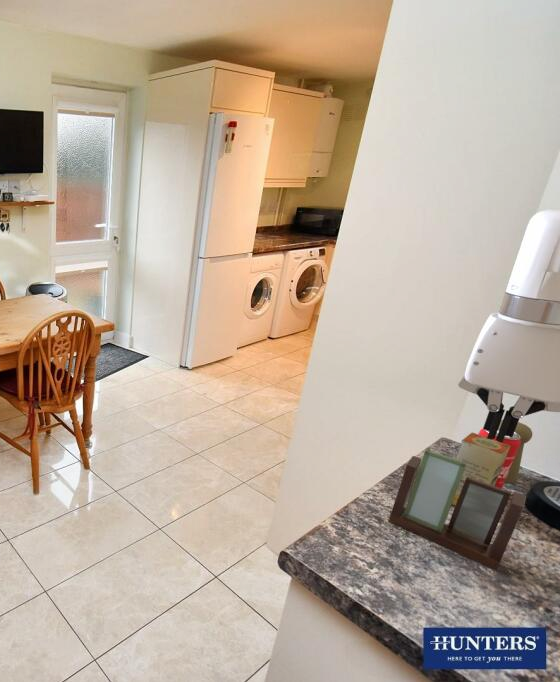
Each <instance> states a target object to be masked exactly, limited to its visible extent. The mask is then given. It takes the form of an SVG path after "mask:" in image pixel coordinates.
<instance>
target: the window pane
mask: <svg viewBox="0 0 560 682" xmlns="http://www.w3.org/2000/svg"><path fill="white" fill-rule="evenodd" d="M421 459H422V460H421V463H420V466H419V469H418V472H417V475H416V478H415V481H414V484H413V487H412V490H411V493H410V496H409V499H408V502H407V505H406V509H405V512H404V515H403V516H405V517H407V518H409V519H412V520H414V521H416V522H419V523H421V524H423V525H425V526H428V527H430V528H432V529H435V530H437V531H439V532H441V531H442V529H443V526H444V524H445V523H446V521H447V518H448V515H449V513H450V510H451V507H452V505H453V504H452V502H453V500H454V497H455V494H456V491H457V489H458V486H459V483H460V481H461V478H462V475H463V473H464V470H465V467H466V465H467V463H465V462H462V461H460V460H457V459H456V458H454V457H451V456H449V455H448V456H447V455H445V454H441V453H438V452H436V451H433V450H430V449H428V448H425V450H424V452H423V455H422V458H421Z"/></svg>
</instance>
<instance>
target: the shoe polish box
mask: <svg viewBox="0 0 560 682" xmlns="http://www.w3.org/2000/svg"><path fill="white" fill-rule="evenodd" d="M478 434H479V433H476V432H473V431H472V432H471V433H469V434H468V435H467V436H465V437H464V438H462V440H461V442H460V445H459V448H458V451H457V453H456V455H455V459H457V460H460V461H462V462H465V463H467V465H466V467H465V470H464V473H463V475H462V478H461V481H460V483H459V486H458V489H457V491H456V494H455V497H454V500H453V502H452V505H453V506H454V507H455V506H456V503H457V501H458V498H459V495H460V493H461V490H462V487H463V485H464V482H465V479H466V477H470V478H472V479H475V480H478V481H481V482H484V483H486V484H489V485H492V486H495V483H496V481H497V478H498V476H499V473H500V471H501V468H502V466H503V463H504V461H505V458H506V456H507V453H508V451H509V449H510V446H511V445H508V444H505V443H501V442H498V441H496V440H493V439H492V440H491V439H487V437H484V436H481V435H478Z"/></svg>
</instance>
